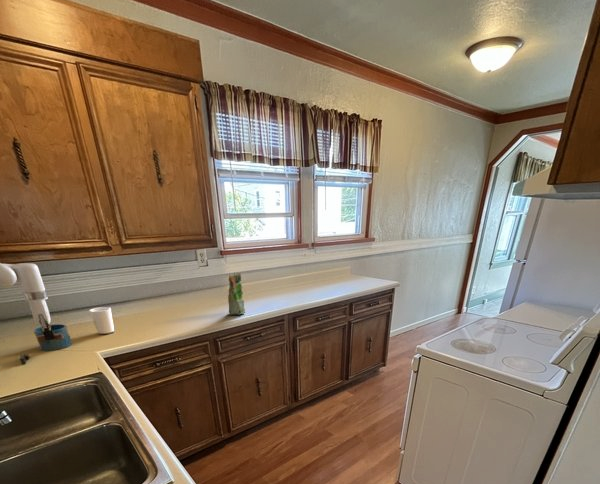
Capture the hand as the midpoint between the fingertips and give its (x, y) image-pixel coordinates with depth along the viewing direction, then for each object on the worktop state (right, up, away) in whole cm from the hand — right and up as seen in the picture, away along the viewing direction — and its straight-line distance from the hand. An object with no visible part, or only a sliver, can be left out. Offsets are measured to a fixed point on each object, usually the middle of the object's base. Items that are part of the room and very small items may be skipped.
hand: (50, 338), depth 140 cm
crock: (-9, -1, +16) cm, 18 cm away
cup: (+4, +8, +34) cm, 35 cm away
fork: (-11, -9, 0) cm, 14 cm away
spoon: (0, 0, 0) cm, 1 cm away
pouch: (+68, +25, +67) cm, 99 cm away
